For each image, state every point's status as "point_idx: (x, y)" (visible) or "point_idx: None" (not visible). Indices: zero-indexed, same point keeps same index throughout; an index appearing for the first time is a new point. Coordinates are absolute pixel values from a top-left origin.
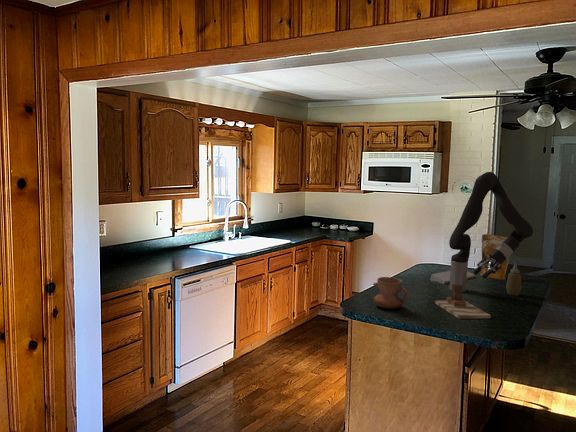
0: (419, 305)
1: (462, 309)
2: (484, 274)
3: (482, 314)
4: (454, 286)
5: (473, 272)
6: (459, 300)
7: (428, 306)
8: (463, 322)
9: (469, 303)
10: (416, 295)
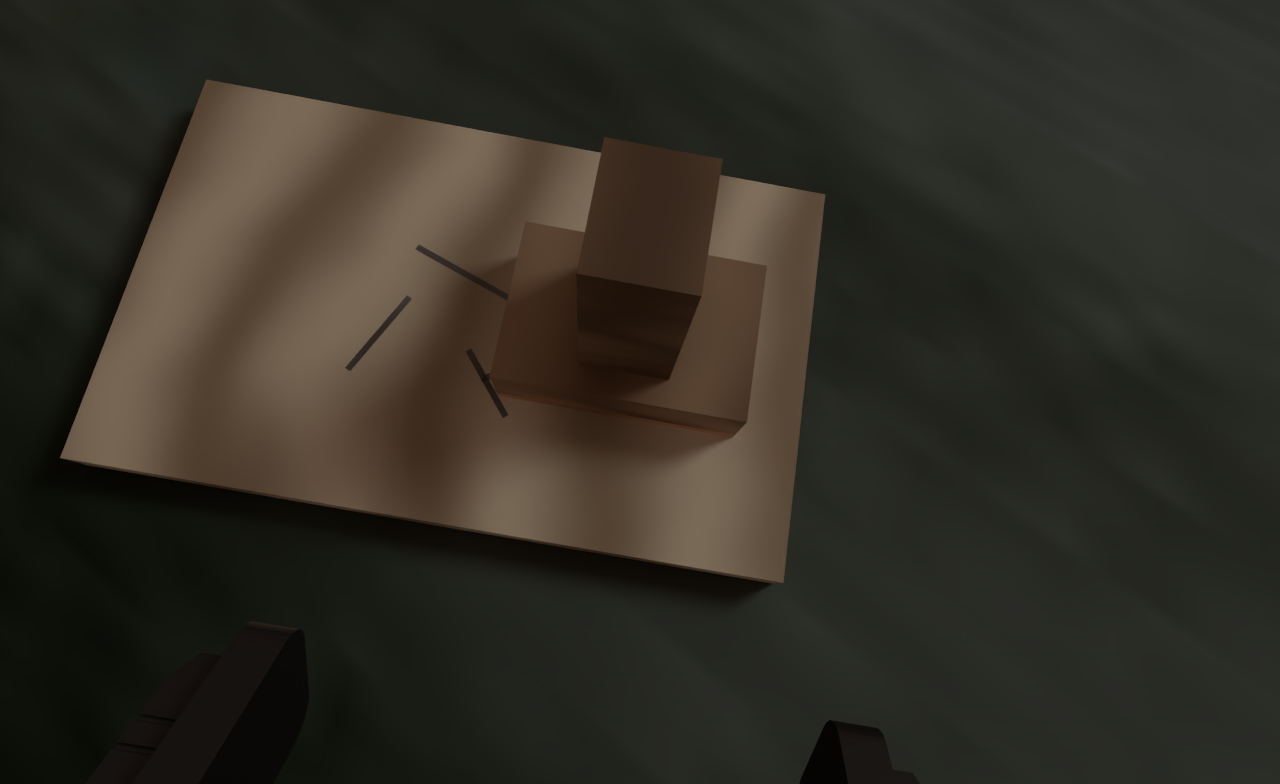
0: (757, 9)
1: (398, 268)
2: (203, 704)
3: (132, 373)
4: (623, 152)
5: (854, 725)
6: (567, 323)
7: (706, 72)
8: (104, 69)
9: (616, 551)
10: (1150, 200)
